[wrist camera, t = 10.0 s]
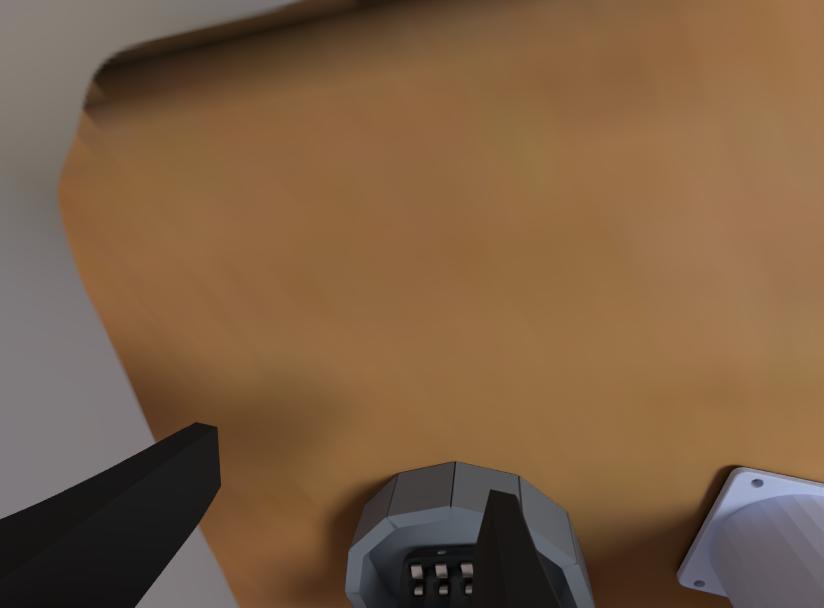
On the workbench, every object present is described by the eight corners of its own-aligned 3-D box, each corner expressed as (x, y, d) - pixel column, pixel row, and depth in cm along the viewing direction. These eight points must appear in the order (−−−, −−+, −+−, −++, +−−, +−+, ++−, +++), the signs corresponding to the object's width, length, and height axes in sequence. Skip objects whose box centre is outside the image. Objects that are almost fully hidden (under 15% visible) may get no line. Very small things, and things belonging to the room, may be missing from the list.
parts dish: (609, 495, 22) (626, 546, 19) (548, 646, 27) (555, 703, 24) (371, 442, 23) (355, 483, 21) (354, 594, 28) (339, 644, 26)
